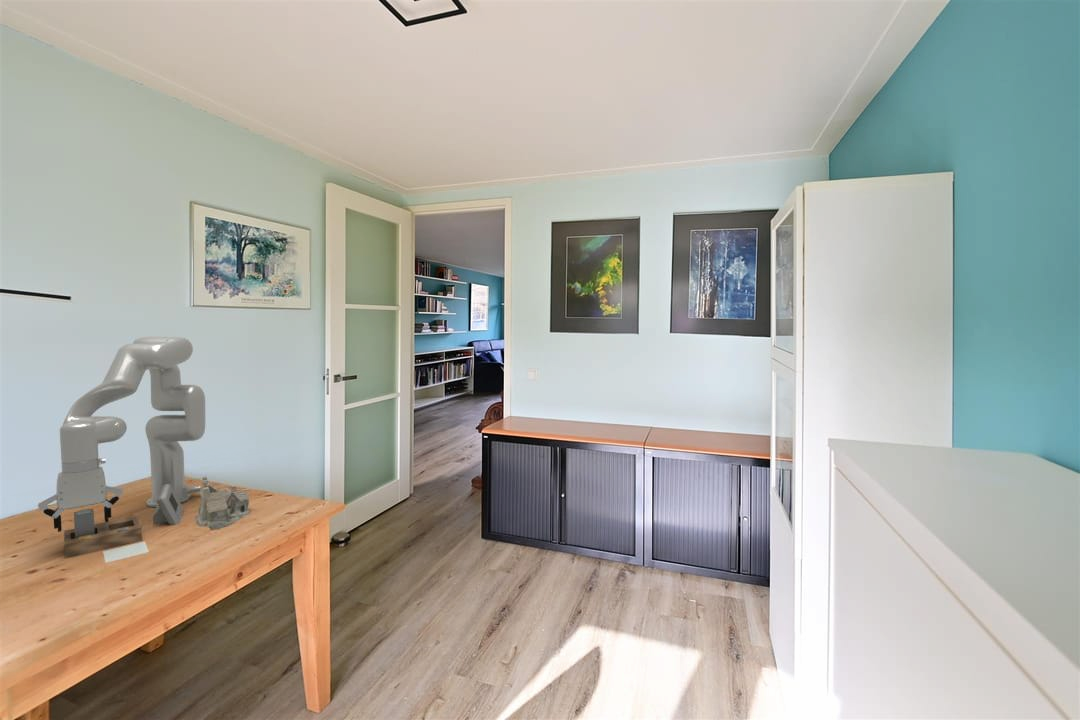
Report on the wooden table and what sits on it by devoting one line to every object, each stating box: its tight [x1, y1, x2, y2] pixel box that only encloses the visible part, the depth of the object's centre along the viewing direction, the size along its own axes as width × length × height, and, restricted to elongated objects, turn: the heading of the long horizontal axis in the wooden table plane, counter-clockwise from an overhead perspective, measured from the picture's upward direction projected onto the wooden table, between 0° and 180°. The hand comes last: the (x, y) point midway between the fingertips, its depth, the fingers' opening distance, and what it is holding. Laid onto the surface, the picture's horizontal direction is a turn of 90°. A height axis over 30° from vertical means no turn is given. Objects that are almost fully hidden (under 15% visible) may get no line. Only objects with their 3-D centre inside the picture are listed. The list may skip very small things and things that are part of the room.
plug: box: [73, 508, 95, 538], centre depth 136 cm, size 4×4×10 cm
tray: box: [102, 541, 149, 564], centre depth 133 cm, size 9×9×1 cm
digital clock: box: [152, 484, 184, 526], centre depth 157 cm, size 16×9×11 cm, turn 22°
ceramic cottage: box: [194, 476, 251, 531], centre depth 159 cm, size 16×16×15 cm
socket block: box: [63, 515, 143, 559], centre depth 139 cm, size 16×12×5 cm
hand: (83, 525), depth 135 cm, fingers open, 9 cm apart
